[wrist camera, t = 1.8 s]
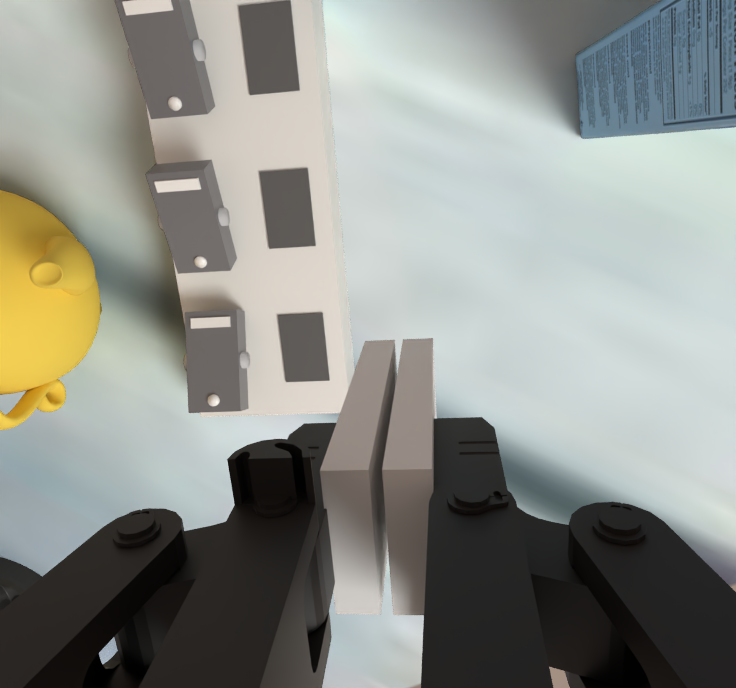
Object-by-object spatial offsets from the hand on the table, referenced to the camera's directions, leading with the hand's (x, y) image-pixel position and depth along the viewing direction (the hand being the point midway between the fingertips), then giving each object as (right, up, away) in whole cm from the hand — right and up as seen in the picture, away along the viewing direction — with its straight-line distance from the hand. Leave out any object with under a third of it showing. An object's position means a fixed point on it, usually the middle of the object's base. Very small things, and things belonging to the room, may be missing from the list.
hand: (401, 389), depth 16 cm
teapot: (-24, +5, +27) cm, 36 cm away
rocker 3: (-10, 0, +21) cm, 23 cm away
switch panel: (-8, +10, +23) cm, 27 cm away
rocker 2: (-11, +8, +19) cm, 23 cm away
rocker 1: (-11, +16, +16) cm, 25 cm away
